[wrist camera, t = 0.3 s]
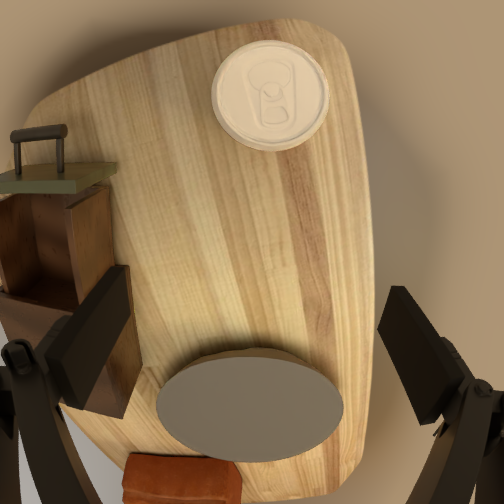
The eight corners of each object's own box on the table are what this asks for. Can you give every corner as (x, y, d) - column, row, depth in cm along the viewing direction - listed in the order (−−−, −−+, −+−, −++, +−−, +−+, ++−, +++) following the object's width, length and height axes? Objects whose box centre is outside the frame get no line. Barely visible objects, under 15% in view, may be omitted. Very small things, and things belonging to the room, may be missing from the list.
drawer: (23, 128, 28) (-26, 138, 20) (117, 119, 29) (74, 123, 21) (40, 277, 37) (5, 311, 29) (124, 289, 37) (96, 333, 29)
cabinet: (37, 255, 36) (-9, 294, 27) (129, 265, 37) (93, 316, 27) (61, 348, 43) (32, 393, 33) (142, 364, 44) (122, 419, 34)
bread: (245, 484, 61) (244, 535, 47) (152, 480, 63) (142, 526, 49) (231, 453, 54) (227, 516, 40) (124, 449, 56) (108, 502, 42)
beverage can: (299, 60, 27) (324, 31, 16) (310, 135, 31) (341, 146, 20) (219, 70, 28) (199, 45, 17) (231, 146, 31) (219, 162, 20)
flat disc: (138, 339, 41) (129, 360, 37) (342, 322, 40) (350, 343, 36) (188, 444, 53) (185, 462, 49) (333, 435, 51) (336, 453, 47)
